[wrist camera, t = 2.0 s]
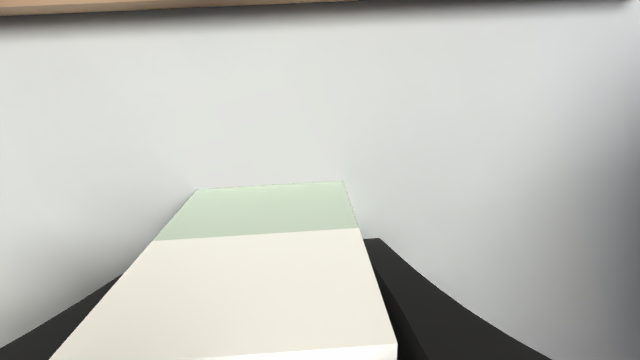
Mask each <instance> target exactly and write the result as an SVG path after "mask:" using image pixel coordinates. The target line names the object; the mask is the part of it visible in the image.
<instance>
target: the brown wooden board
mask: <svg viewBox="0 0 640 360" xmlns="http://www.w3.org/2000/svg"><path fill="white" fill-rule="evenodd" d="M334 1H356V0H0V16H14V15H36V14H59V13H82V12H105V11H128V10H151V9H174V8H196V7H219V6H242V5H265V4H288V3H311V2H334Z"/></svg>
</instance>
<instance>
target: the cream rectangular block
mask: <svg viewBox="0 0 640 360" xmlns="http://www.w3.org/2000/svg"><path fill="white" fill-rule="evenodd" d="M397 346H398V343H397V340H396V337H395V334H394V331H393V328H392V325H391V322H390V319H389V316H388V313H387V310H386V307H385V304H384V301H383V298H382V295H381V292H380V289H379V286H378V283H377V280H376V277H375V274H374V271H373V268H372V265H371V262H370V259H369V256H368V253H367V250H366V247H365V245H364V242H363V239H362V236H361V233H360V230H359V227H358V224H357V221H356V218H355V215H354V212H353V209H352V206H351V203H350V200H349V197H348V194H347V191H346V188H345V185H344V182H343V180H342V181H325V182H309V183H292V184H276V185H259V186H243V187H226V188H210V189H197V190H196V191H195V192H194V193H193V195H192V196H191V197H190V198H189V199H188V200H187V201H186V203H185V204H184V205H183V206H182V207H181V208H180V210H179V211H178V212H177V213H176V214H175V215H174V216H173V218H172V219H171V220H170V221H169V222H168V223H167V224H166V226H165V227H164V228H163V229H162V230H161V231H160V232H159V234H158V235H157V236H156V237H155V238H154V239H153V241H152V242H151V243H150V244H149V245H148V246H147V247H146V249H145V250H144V251H143V252H142V253H141V254H140V255H139V257H138V258H137V259H136V260H135V261H134V262H133V264H132V265H131V266H130V267H129V268H128V269H127V270H126V272H125V273H124V274H123V275H122V276H121V277H120V278H119V280H118V281H117V282H116V283H115V284H114V285H113V286H112V288H111V289H110V290H109V291H108V292H107V293H106V295H105V296H104V297H103V298H102V299H101V300H100V301H99V303H98V304H97V305H96V306H95V307H94V308H93V309H92V311H91V312H90V313H89V314H88V315H87V316H86V318H85V319H84V320H83V321H82V322H81V323H80V324H79V326H78V327H77V328H76V329H75V330H74V331H73V332H72V334H71V335H70V336H69V337H68V338H67V339H66V341H65V342H64V343H63V344H62V345H61V346H60V347H59V349H58V350H57V351H56V352H55V353H54V354H53V355H52V357H51V358H50V359H49V360H397Z"/></svg>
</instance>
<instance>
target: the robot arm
mask: <svg viewBox="0 0 640 360" xmlns="http://www.w3.org/2000/svg"><path fill="white" fill-rule="evenodd" d="M363 242H364V245H365V247H366V250H367V253H368V256H369V259H370V262H371V265H372V268H373V271H374V274H375V277H376V280H377V283H378V286H379V289H380V292H381V295H382V298H383V301H384V304H385V307H386V310H387V313H388V316H389V319H390V322H391V325H392V328H393V331H394V334H395V337H396V340H397V343H398V346H397V360H552V359H550V358H548V357H546V356H544V355H542V354H540V353H539V352H537V351H535V350H533V349H531V348H529V347H528V346H526V345H524V344H522V343H521V342H519V341H517V340H515V339H514V338H512V337H510V336H509V335H507V334H505V333H504V332H502V331H500V330H499V329H497V328H496V327H494V326H493V325H491V324H489V323H488V322H486V321H485V320H483V319H481V318H480V317H478V316H477V315H475V314H474V313H472V312H471V311H469V310H468V309H466V308H465V307H463V306H462V305H460V304H459V303H458V302H456V301H455V300H454V299H452V298H451V297H449V296H448V295H447V294H445V293H444V292H443V291H441V290H440V289H439V288H437V287H436V286H435V285H433V284H432V283H431V282H430V281H428V280H427V279H426V278H425V277H423V276H422V275H421V274H420V273H418V272H417V271H416V270H415V269H414V268H413V267H411V266H410V265H409V264H408V263H407V262H406V261H404V260H403V259H402V258H401V257H400V256H399V255H398V254H397V253H395V252H394V251H393V250H392V249H391V248H390V247H389V246H388V245H387V244H385V243H384V242H383V241H382V240H381V239H380V238H374V239H363ZM123 274H124V273H123ZM123 274H122V275H123ZM122 275H120V276H119V277H117V278H116V279H114V280H112V281H111V282H109V283H108V284H106V285H105V286H103V287H102V288H100V289H98V290H97V291H95V292H94V293H92V294H91V295H89V296H88V297H86V298H85V299H83V300H81V301H80V302H78V303H76V304H75V305H73V306H72V307H70V308H68V309H67V310H65V311H63V312H62V313H60V314H58V315H57V316H55V317H53V318H52V319H50V320H48V321H47V322H45V323H44V324H42V325H40V326H39V327H37V328H35V329H34V330H32V331H30V332H29V333H27V334H25V335H23V336H22V337H20V338H18V339H16V340H15V341H13V342H11V343H9V344H8V345H6V346H4V347H2V348H0V360H49V359H50V358H51V357H52V355H53V354H54V353H55V352H56V351H57V350H58V349H59V347H60V346H61V345H62V344H63V343H64V342H65V341H66V339H67V338H68V337H69V336H70V335H71V334H72V332H73V331H74V330H75V329H76V328H77V327H78V326H79V324H80V323H81V322H82V321H83V320H84V319H85V318H86V316H87V315H88V314H89V313H90V312H91V311H92V309H93V308H94V307H95V306H96V305H97V304H98V303H99V301H100V300H101V299H102V298H103V297H104V296H105V295H106V293H107V292H108V291H109V290H110V289H111V288H112V286H113V285H114V284H115V283H116V282H117V281H118V280H119V278H120V277H121V276H122Z"/></svg>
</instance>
